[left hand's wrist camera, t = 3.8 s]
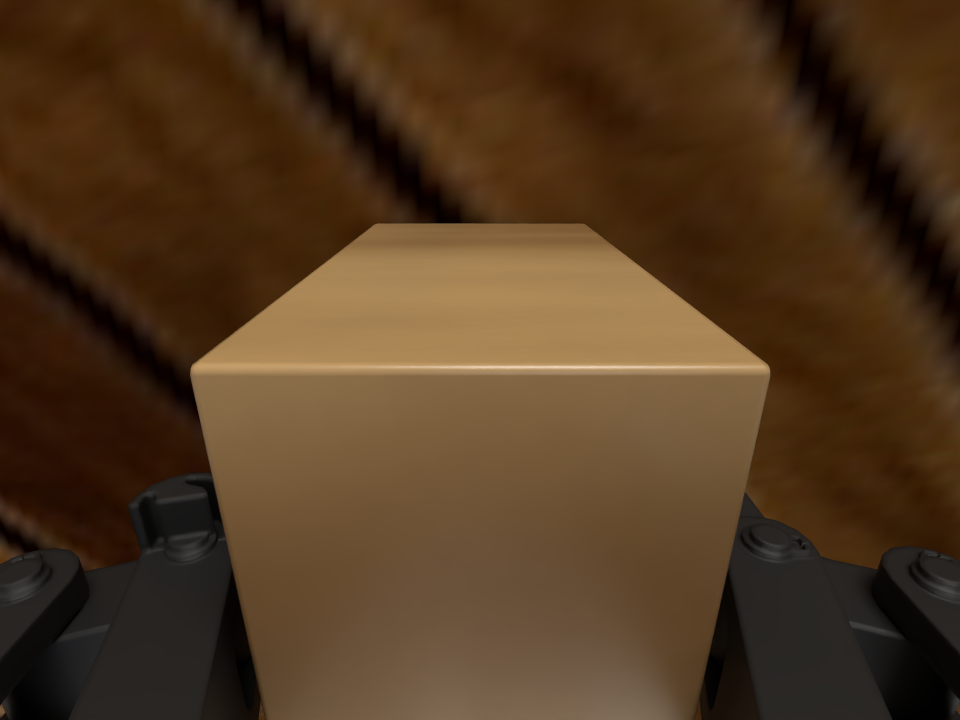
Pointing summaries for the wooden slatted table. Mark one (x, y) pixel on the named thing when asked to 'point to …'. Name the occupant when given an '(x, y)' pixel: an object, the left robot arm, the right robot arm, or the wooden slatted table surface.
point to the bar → (480, 479)
